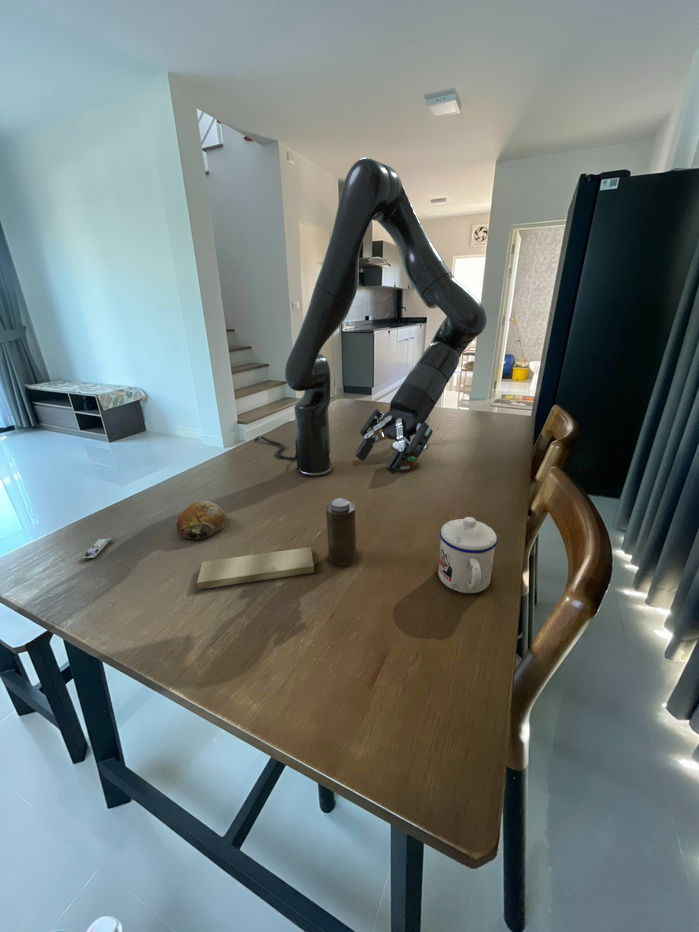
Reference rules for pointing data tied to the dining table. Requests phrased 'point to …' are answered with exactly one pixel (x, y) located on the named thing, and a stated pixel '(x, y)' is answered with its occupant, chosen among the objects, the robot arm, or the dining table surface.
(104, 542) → the granola bar
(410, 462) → the food container
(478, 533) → the teacup with lid
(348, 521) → the pepper mill
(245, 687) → the dining table surface
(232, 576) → the serving board
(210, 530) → the bread roll
